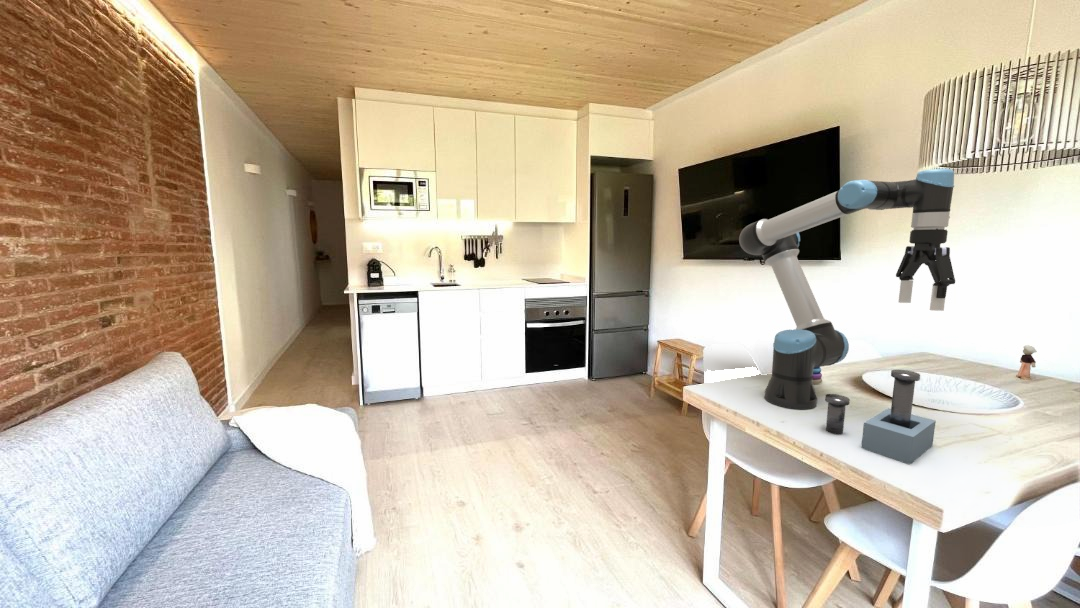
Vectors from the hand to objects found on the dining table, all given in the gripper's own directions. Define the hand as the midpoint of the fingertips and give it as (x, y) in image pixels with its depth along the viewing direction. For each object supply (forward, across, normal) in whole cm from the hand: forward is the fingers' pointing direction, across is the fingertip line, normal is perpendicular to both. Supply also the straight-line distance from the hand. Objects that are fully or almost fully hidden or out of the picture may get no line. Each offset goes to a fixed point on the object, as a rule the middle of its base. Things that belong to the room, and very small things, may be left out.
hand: (919, 306), depth 119 cm
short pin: (+35, -8, +22) cm, 42 cm away
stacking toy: (+35, +36, +12) cm, 52 cm away
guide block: (+35, -16, +10) cm, 39 cm away
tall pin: (+35, -16, +10) cm, 39 cm away
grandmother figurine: (+35, +52, -67) cm, 92 cm away
